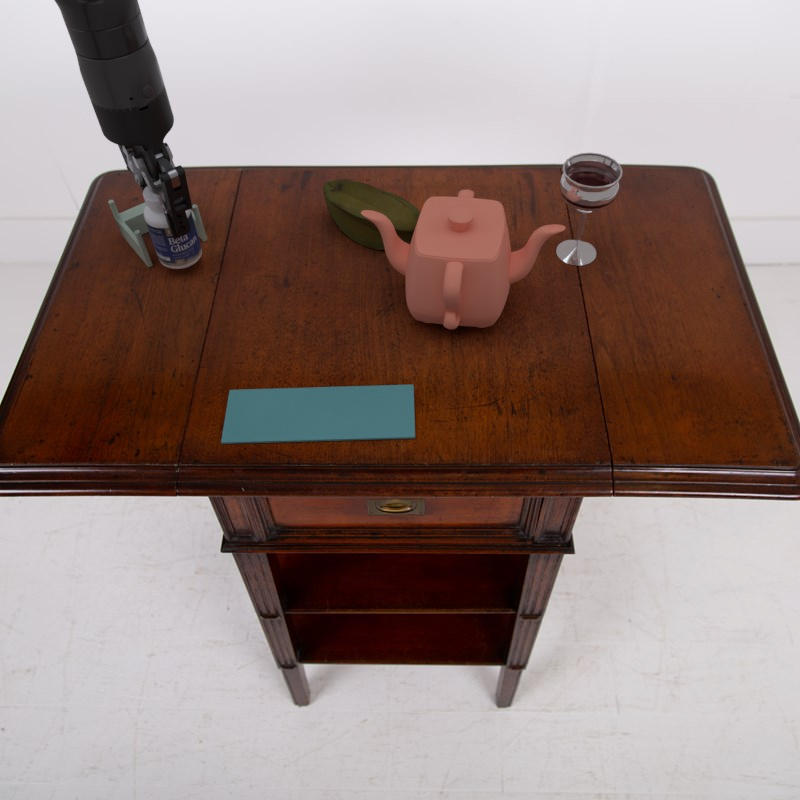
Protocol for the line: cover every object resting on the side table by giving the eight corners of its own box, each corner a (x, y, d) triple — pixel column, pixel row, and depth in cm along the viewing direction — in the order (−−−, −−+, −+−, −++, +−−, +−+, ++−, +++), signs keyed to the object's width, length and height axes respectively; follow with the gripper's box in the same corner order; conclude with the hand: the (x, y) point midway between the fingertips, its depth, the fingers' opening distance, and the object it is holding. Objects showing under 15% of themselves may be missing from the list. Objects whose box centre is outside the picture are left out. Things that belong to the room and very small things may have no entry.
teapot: (366, 290, 91) (358, 204, 82) (476, 238, 97) (481, 152, 87) (438, 367, 84) (439, 282, 74) (553, 306, 89) (568, 219, 79)
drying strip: (221, 444, 78) (220, 442, 78) (230, 391, 82) (229, 389, 82) (415, 438, 78) (415, 437, 77) (413, 386, 82) (413, 384, 82)
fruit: (339, 268, 94) (333, 226, 89) (324, 210, 101) (319, 167, 96) (428, 253, 95) (428, 211, 90) (407, 196, 103) (406, 154, 97)
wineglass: (591, 230, 97) (608, 148, 88) (612, 264, 93) (633, 182, 84) (540, 240, 96) (553, 157, 87) (560, 275, 92) (575, 192, 83)
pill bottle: (180, 276, 92) (157, 210, 84) (150, 259, 94) (126, 194, 86) (212, 252, 95) (193, 186, 87) (182, 236, 97) (161, 170, 89)
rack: (208, 240, 98) (198, 206, 94) (148, 268, 95) (135, 234, 91) (178, 208, 103) (167, 174, 98) (120, 234, 100) (106, 200, 95)
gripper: (63, 71, 79) (115, 205, 92) (121, 129, 72) (168, 265, 85) (129, 48, 82) (171, 181, 95) (192, 102, 75) (227, 238, 88)
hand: (169, 220), depth 90 cm, fingers closed on pill bottle, 5 cm apart
